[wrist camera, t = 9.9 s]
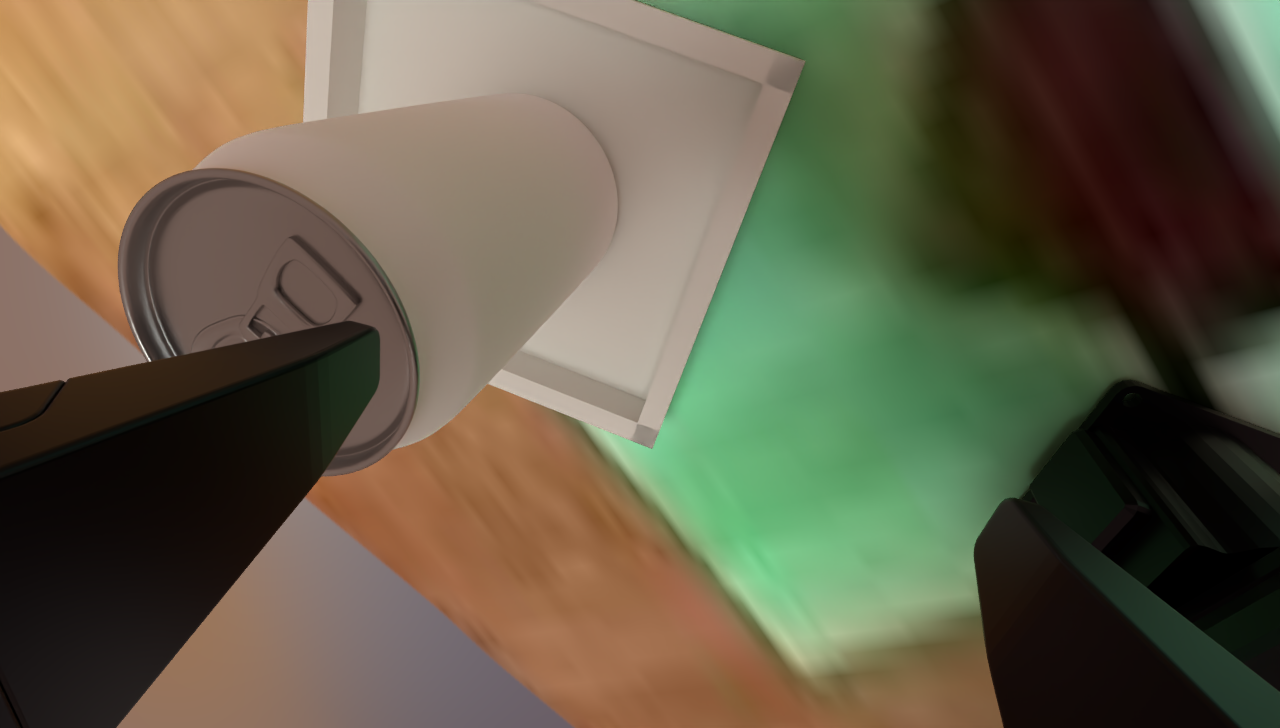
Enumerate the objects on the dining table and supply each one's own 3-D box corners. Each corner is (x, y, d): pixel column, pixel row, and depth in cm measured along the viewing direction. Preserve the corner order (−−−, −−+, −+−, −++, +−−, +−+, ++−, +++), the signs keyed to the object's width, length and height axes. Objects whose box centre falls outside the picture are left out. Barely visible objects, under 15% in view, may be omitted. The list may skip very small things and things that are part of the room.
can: (402, 185, 22) (44, 309, 12) (520, 42, 19) (187, 36, 9) (533, 323, 23) (316, 547, 13) (662, 207, 21) (518, 375, 10)
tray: (804, 60, 18) (805, 61, 16) (663, 417, 25) (651, 448, 23) (361, -97, 19) (312, -113, 17) (334, 287, 25) (295, 307, 23)
